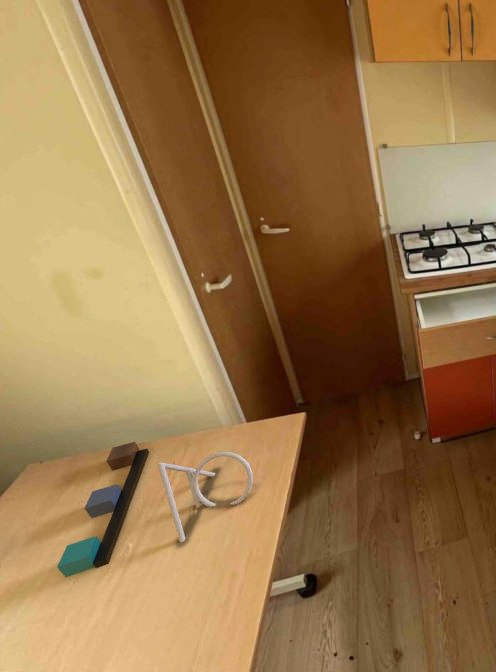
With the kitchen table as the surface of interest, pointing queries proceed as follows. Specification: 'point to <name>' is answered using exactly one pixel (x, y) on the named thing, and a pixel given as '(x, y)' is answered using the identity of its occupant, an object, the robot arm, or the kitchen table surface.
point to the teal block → (79, 556)
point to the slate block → (103, 501)
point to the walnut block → (122, 456)
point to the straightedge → (120, 510)
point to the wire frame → (195, 488)
